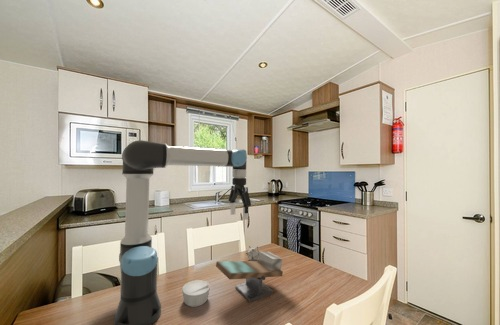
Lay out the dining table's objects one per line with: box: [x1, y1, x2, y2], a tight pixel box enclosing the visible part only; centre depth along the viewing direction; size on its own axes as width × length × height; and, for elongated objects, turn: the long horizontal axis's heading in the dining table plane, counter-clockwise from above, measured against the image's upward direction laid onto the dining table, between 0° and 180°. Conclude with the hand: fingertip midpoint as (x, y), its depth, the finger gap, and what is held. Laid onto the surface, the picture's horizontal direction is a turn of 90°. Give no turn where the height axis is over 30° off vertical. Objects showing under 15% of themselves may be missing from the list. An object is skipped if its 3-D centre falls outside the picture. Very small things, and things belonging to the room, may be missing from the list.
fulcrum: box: [235, 278, 274, 303], centre depth 95 cm, size 12×12×7 cm
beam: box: [215, 250, 284, 281], centre depth 94 cm, size 27×15×8 cm, turn 123°
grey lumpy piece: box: [245, 245, 259, 261], centre depth 126 cm, size 9×8×10 cm
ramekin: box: [181, 279, 211, 308], centre depth 88 cm, size 11×11×5 cm
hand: (238, 216), depth 116 cm, fingers open, 13 cm apart
